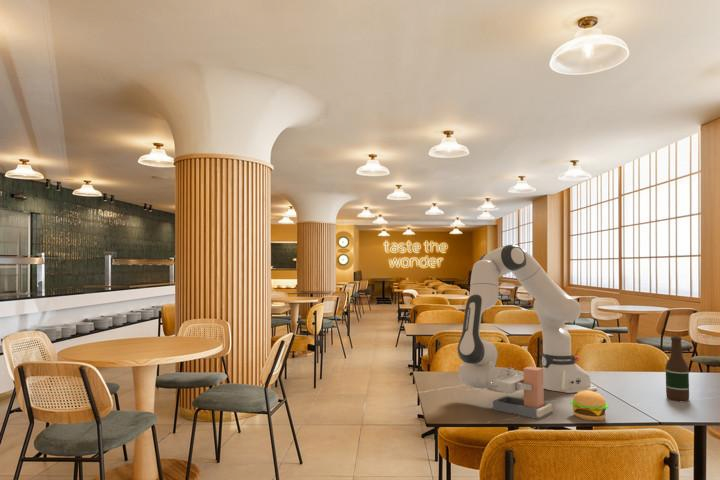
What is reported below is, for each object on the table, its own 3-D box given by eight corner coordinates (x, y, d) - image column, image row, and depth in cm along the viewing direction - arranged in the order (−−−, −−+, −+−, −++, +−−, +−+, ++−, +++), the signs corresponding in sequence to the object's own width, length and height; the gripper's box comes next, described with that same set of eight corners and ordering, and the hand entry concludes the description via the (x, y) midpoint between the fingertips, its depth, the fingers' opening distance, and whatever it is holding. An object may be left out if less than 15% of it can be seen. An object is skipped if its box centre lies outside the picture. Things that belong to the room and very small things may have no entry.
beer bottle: (686, 397, 202) (685, 335, 203) (692, 402, 195) (690, 338, 196) (664, 395, 205) (662, 334, 206) (668, 400, 197) (667, 337, 198)
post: (523, 408, 180) (523, 368, 181) (530, 405, 184) (529, 366, 184) (537, 411, 177) (537, 370, 177) (543, 408, 180) (543, 368, 181)
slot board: (492, 409, 185) (492, 401, 185) (506, 403, 193) (506, 395, 193) (540, 419, 173) (539, 410, 173) (552, 412, 181) (552, 404, 181)
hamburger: (613, 416, 177) (612, 390, 178) (603, 424, 168) (602, 397, 169) (577, 409, 185) (576, 385, 186) (565, 417, 176) (565, 391, 176)
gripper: (485, 375, 182) (522, 381, 172) (512, 366, 197) (547, 372, 188) (485, 393, 182) (523, 400, 172) (512, 383, 197) (547, 389, 187)
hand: (536, 385), depth 180 cm, fingers closed on post, 5 cm apart
